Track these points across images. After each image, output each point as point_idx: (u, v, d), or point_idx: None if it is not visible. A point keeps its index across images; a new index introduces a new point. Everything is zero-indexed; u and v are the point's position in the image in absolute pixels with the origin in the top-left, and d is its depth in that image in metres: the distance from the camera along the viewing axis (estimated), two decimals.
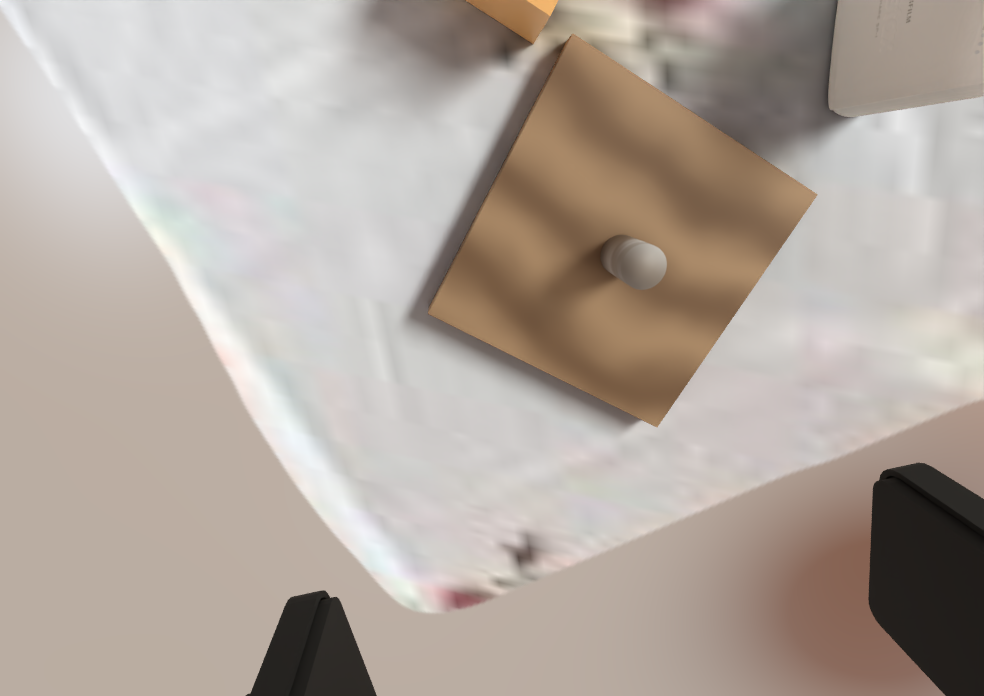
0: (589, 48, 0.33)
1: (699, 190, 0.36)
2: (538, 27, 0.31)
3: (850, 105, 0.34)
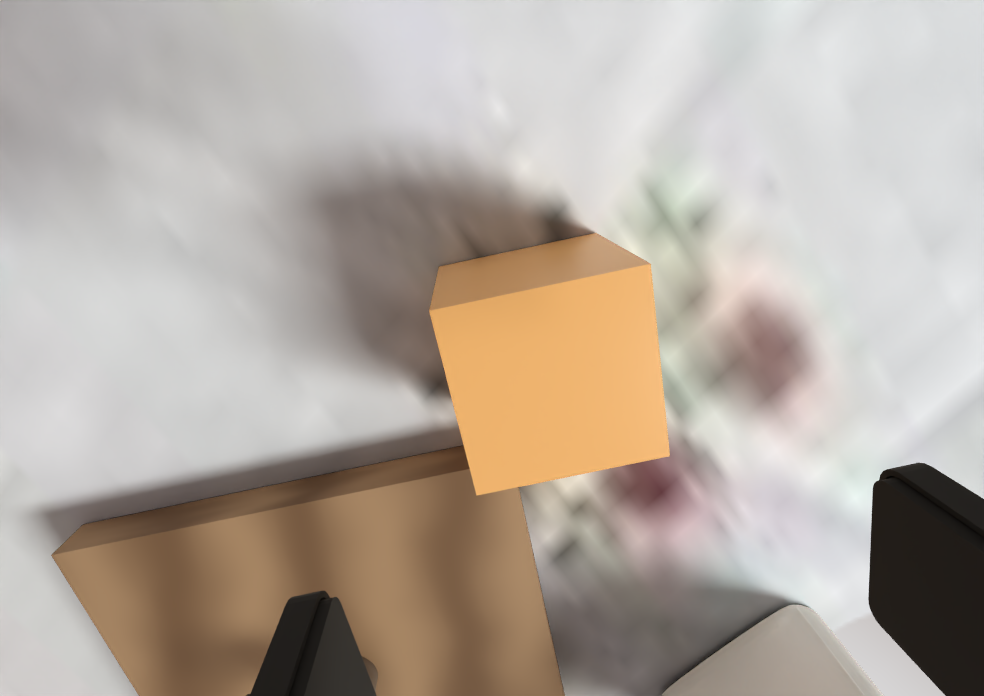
0: None
1: (484, 685, 0.26)
2: None
3: None
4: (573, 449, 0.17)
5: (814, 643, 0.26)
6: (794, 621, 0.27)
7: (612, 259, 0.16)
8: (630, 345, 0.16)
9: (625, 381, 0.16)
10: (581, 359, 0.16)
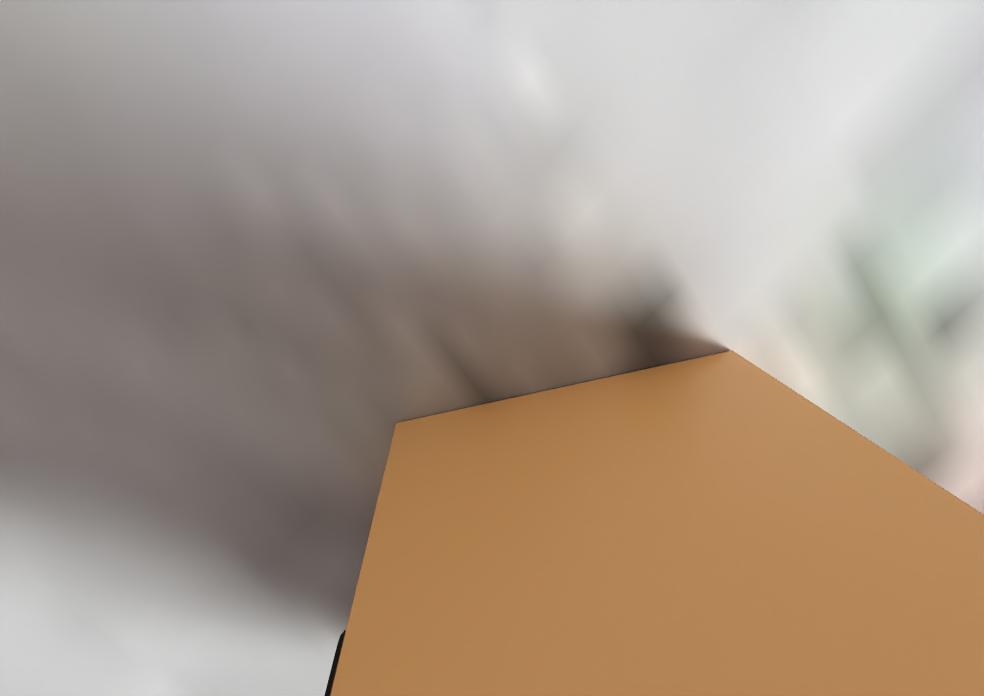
0: None
1: None
2: None
3: None
4: None
5: None
6: None
7: (922, 536, 0.05)
8: None
9: None
10: None
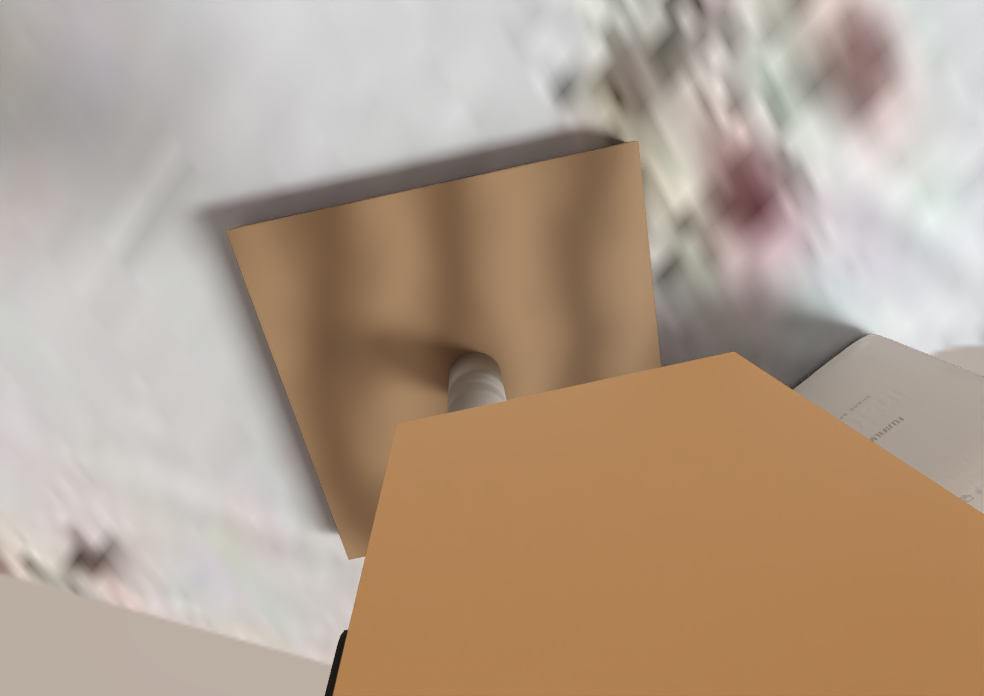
0: (637, 170, 0.25)
1: None
2: None
3: None
4: None
5: (896, 347, 0.28)
6: (874, 341, 0.30)
7: (927, 539, 0.05)
8: None
9: None
10: None
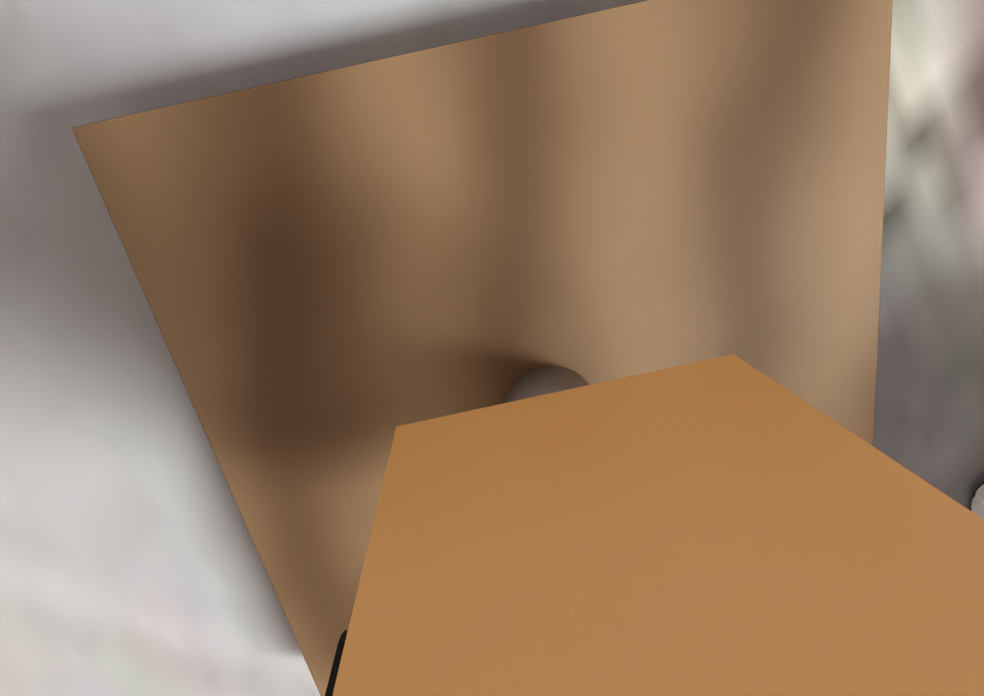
0: (884, 11, 0.13)
1: None
2: None
3: None
4: None
5: None
6: None
7: (926, 544, 0.05)
8: None
9: None
10: None
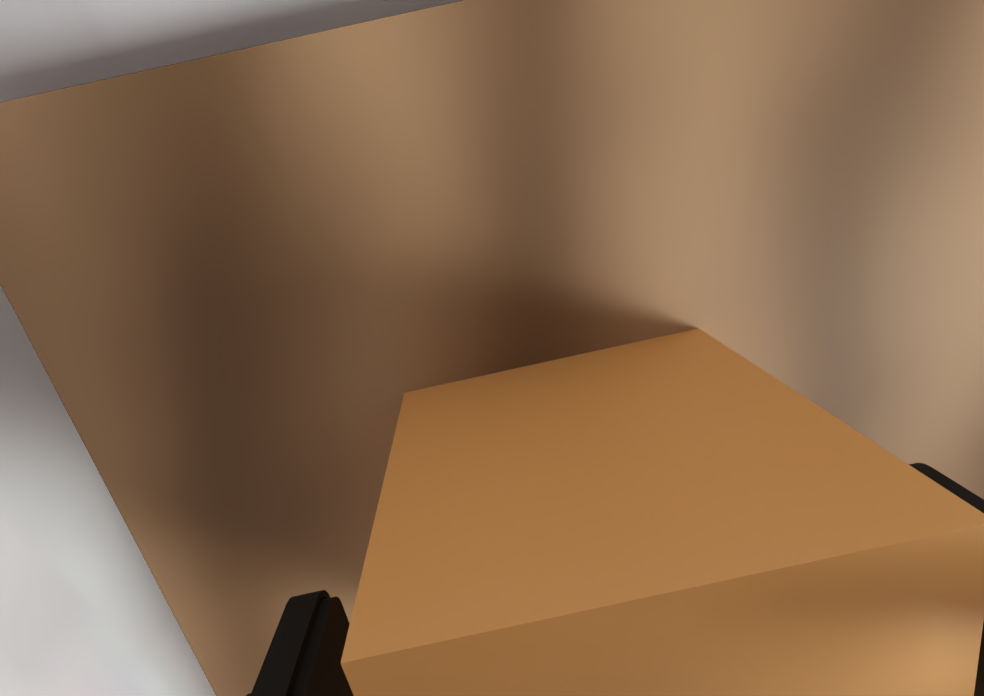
0: None
1: None
2: None
3: None
4: None
5: None
6: None
7: (823, 458, 0.06)
8: None
9: None
10: None
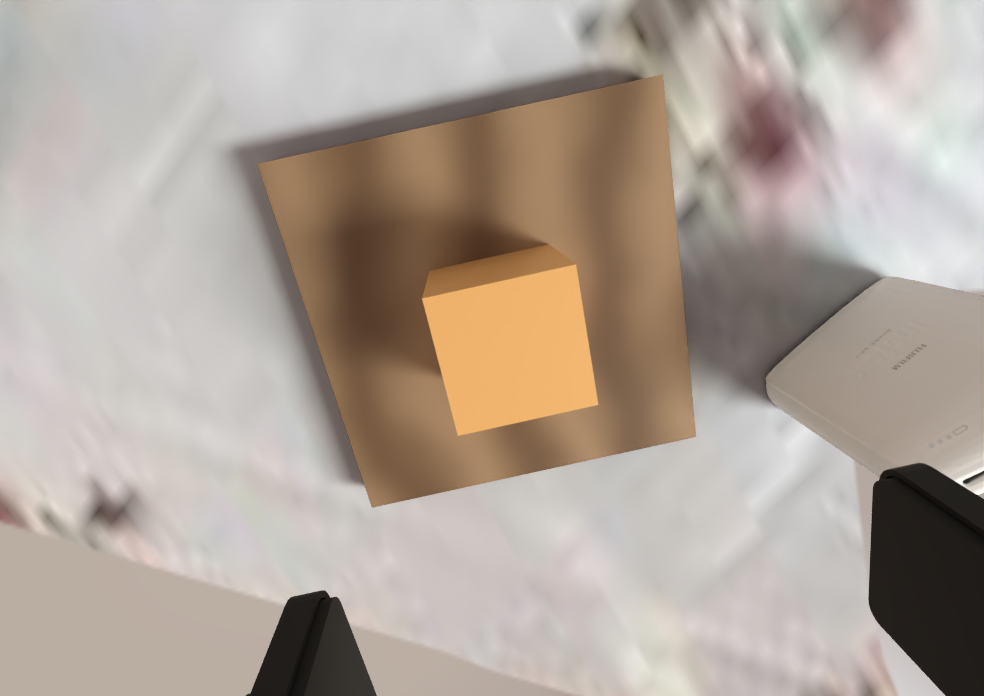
0: (661, 105, 0.26)
1: (619, 333, 0.29)
2: None
3: (785, 391, 0.30)
4: (527, 400, 0.23)
5: (913, 285, 0.29)
6: (891, 282, 0.30)
7: (553, 262, 0.23)
8: (565, 322, 0.22)
9: (563, 349, 0.22)
10: (530, 333, 0.22)
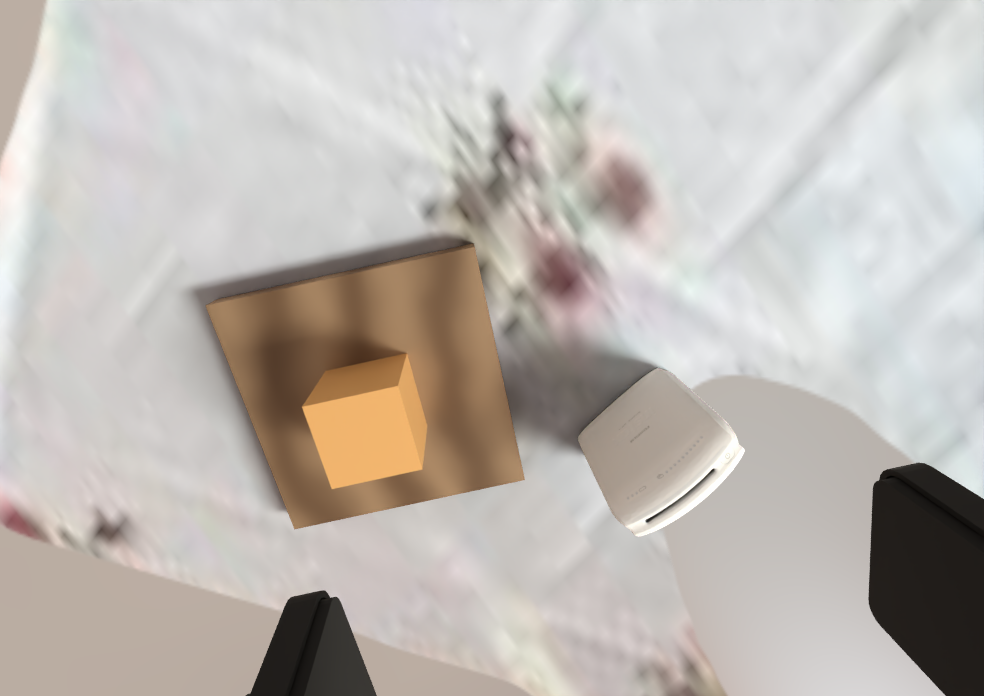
0: (475, 265, 0.38)
1: (461, 410, 0.42)
2: None
3: (582, 449, 0.43)
4: (375, 466, 0.36)
5: (664, 378, 0.42)
6: (656, 373, 0.43)
7: (390, 379, 0.36)
8: (394, 420, 0.35)
9: (395, 435, 0.35)
10: (373, 426, 0.35)
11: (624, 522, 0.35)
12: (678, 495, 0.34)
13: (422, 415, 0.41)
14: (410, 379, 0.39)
